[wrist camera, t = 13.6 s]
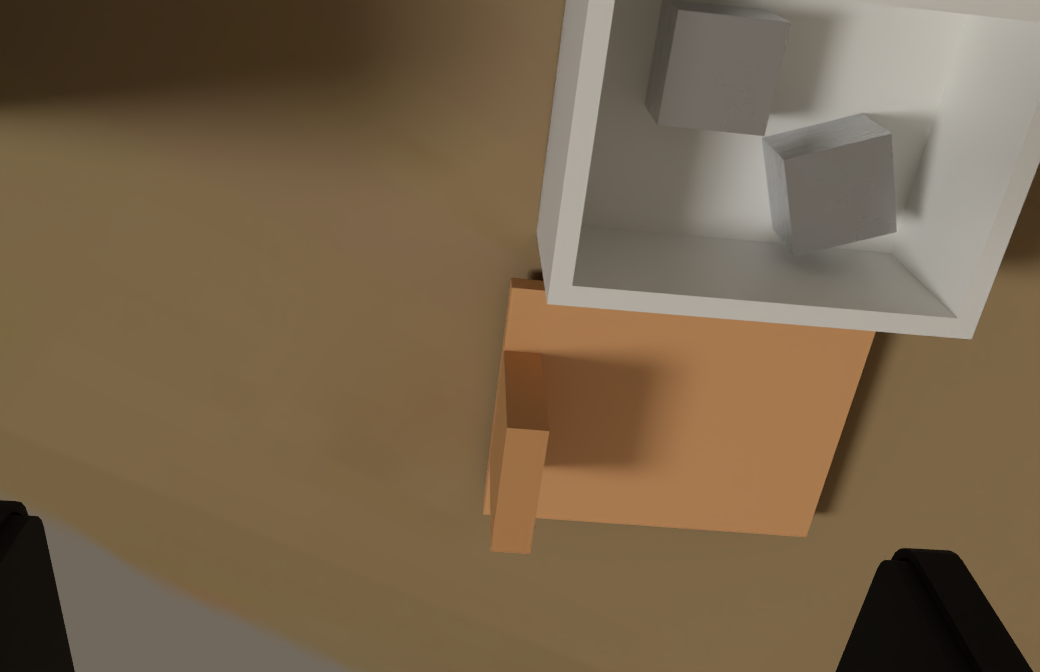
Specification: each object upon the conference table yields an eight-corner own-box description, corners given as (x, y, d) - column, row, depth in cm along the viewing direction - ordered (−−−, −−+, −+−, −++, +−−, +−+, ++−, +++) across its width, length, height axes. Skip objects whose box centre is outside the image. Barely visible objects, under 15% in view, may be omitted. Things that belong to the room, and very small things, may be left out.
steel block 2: (761, 137, 36) (783, 159, 34) (861, 113, 36) (892, 133, 33) (772, 228, 38) (794, 256, 35) (867, 205, 38) (896, 232, 35)
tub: (575, -74, 33) (596, -58, 27) (989, -24, 35) (1101, 1, 28) (536, 232, 39) (547, 303, 32) (895, 264, 40) (971, 339, 34)
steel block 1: (662, -3, 34) (678, 9, 31) (767, 9, 34) (791, 22, 31) (644, 105, 36) (657, 125, 33) (743, 115, 36) (764, 135, 33)
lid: (510, 266, 40) (516, 358, 32) (860, 299, 41) (941, 394, 34) (483, 485, 45) (483, 606, 38) (792, 508, 47) (849, 628, 39)
